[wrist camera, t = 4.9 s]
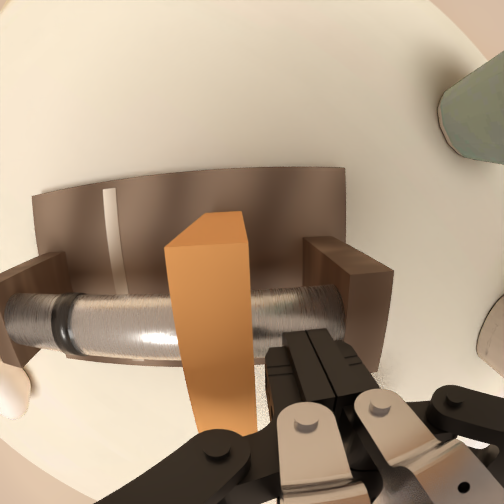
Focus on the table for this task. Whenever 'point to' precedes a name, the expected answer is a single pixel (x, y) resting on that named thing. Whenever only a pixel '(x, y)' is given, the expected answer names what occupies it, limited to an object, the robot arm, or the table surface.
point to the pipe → (158, 321)
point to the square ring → (215, 320)
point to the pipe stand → (181, 217)
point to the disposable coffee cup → (476, 113)
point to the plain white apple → (13, 391)
